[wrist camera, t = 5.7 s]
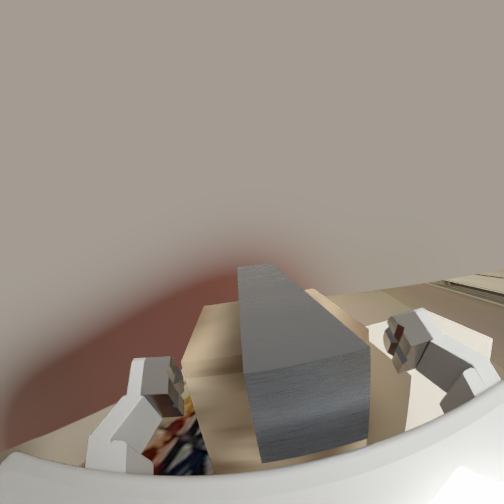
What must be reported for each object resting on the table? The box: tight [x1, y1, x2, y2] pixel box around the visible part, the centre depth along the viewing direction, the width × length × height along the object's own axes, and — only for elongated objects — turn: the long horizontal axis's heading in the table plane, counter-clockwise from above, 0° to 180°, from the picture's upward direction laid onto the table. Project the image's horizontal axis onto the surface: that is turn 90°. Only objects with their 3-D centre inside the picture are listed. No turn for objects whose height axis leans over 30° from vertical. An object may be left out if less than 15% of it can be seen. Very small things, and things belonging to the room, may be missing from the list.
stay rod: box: [237, 262, 371, 463], centre depth 16 cm, size 3×20×3 cm, turn 3°
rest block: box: [365, 310, 493, 446], centre depth 21 cm, size 8×10×22 cm
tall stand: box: [181, 289, 369, 475], centre depth 21 cm, size 10×12×26 cm
